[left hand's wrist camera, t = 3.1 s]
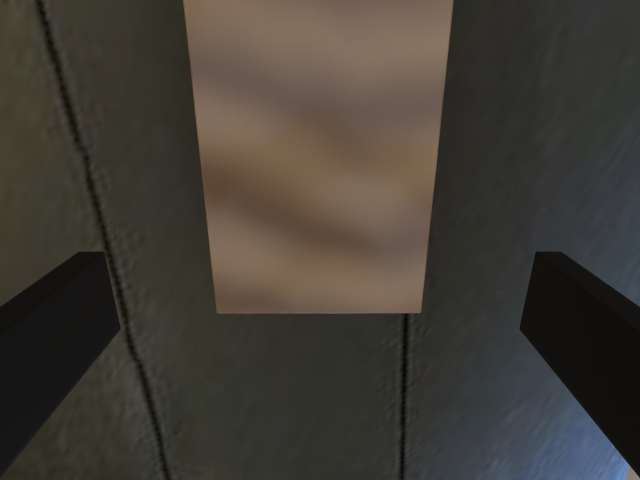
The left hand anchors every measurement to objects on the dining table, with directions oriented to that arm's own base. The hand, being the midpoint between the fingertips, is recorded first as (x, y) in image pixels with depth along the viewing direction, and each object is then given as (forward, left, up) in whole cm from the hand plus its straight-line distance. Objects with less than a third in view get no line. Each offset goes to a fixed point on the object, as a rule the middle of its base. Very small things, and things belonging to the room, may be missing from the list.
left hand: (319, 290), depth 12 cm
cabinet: (+1, +6, -16) cm, 17 cm away
